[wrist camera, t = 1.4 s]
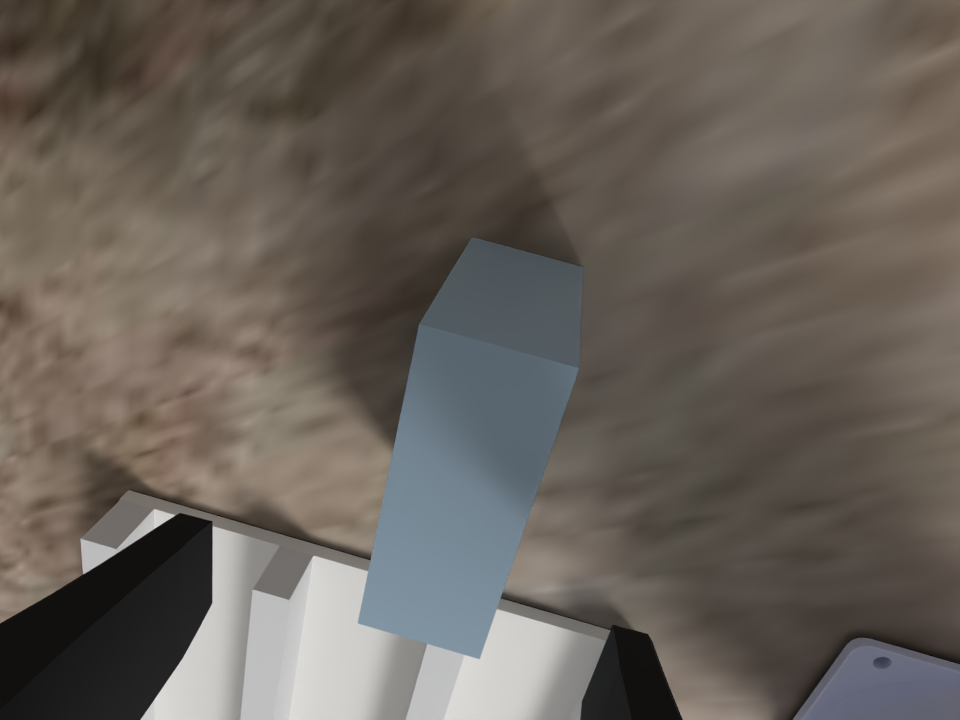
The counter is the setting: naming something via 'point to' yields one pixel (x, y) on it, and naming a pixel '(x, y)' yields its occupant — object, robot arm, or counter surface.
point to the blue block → (472, 443)
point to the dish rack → (341, 640)
